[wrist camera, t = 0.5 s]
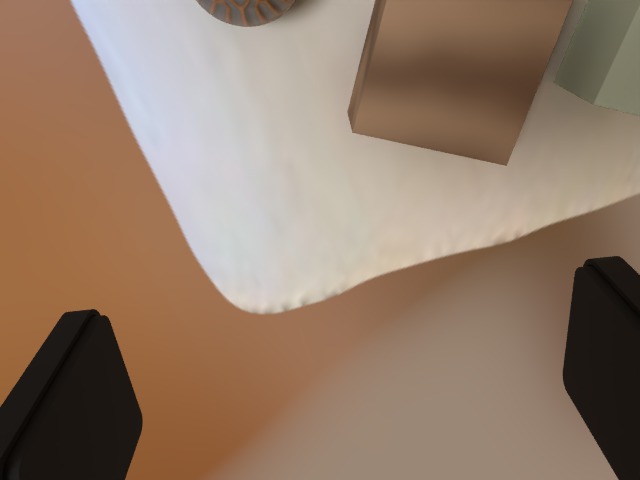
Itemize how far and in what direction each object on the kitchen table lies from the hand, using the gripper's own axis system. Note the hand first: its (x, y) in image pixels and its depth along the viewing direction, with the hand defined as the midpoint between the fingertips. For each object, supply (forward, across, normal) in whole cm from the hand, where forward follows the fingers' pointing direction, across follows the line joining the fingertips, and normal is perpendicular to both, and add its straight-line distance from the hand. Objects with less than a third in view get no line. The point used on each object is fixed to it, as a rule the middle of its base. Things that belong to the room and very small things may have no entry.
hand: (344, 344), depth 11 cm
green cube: (+29, -19, +1) cm, 35 cm away
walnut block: (+29, -8, 0) cm, 30 cm away
